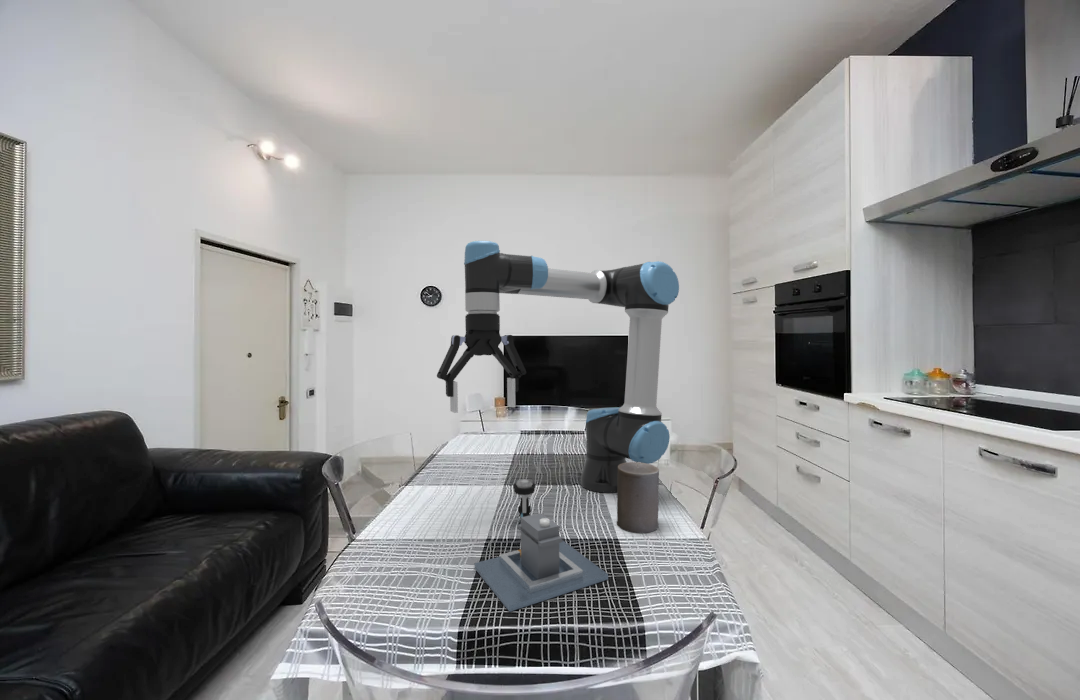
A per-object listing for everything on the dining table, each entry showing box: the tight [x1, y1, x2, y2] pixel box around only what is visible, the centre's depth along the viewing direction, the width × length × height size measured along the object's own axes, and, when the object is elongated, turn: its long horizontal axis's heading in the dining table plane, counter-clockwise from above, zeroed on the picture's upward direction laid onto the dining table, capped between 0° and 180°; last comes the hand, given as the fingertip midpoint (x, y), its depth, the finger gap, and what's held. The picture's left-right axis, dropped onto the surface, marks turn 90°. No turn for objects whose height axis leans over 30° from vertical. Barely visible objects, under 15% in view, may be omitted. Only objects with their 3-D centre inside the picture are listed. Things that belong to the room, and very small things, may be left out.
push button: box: [512, 478, 536, 523], centre depth 109 cm, size 7×5×10 cm
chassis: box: [473, 539, 609, 613], centre depth 86 cm, size 20×16×2 cm
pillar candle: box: [616, 461, 660, 534], centre depth 108 cm, size 10×10×15 cm
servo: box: [517, 512, 563, 580], centre depth 86 cm, size 4×9×10 cm, turn 29°
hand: (483, 409), depth 101 cm, fingers open, 13 cm apart
